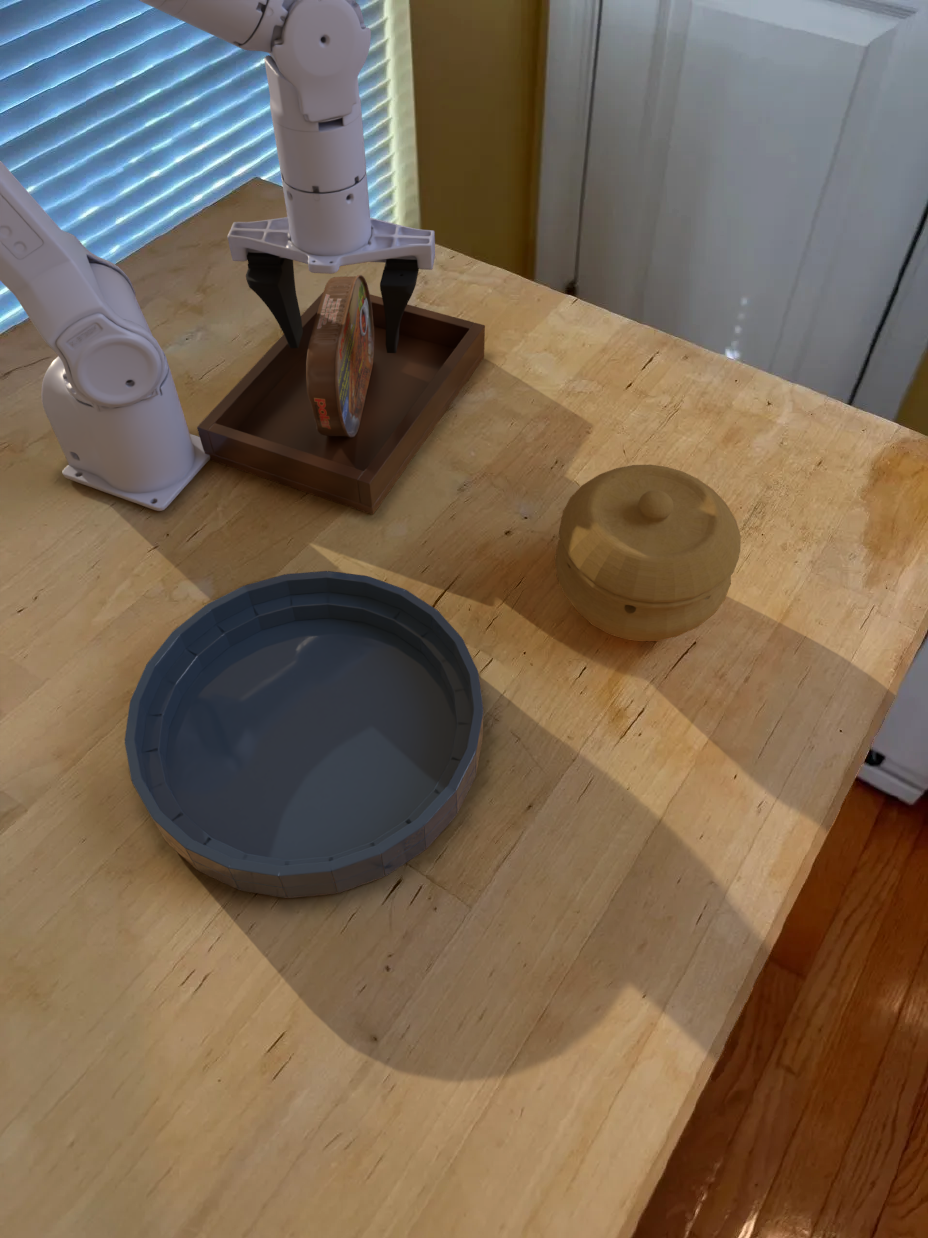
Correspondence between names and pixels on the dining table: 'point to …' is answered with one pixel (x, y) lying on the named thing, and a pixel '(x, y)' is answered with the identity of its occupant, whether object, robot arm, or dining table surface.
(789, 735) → the dining table surface
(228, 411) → the holder
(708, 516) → the pot
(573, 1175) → the dining table surface
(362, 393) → the tin
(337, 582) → the bowl
